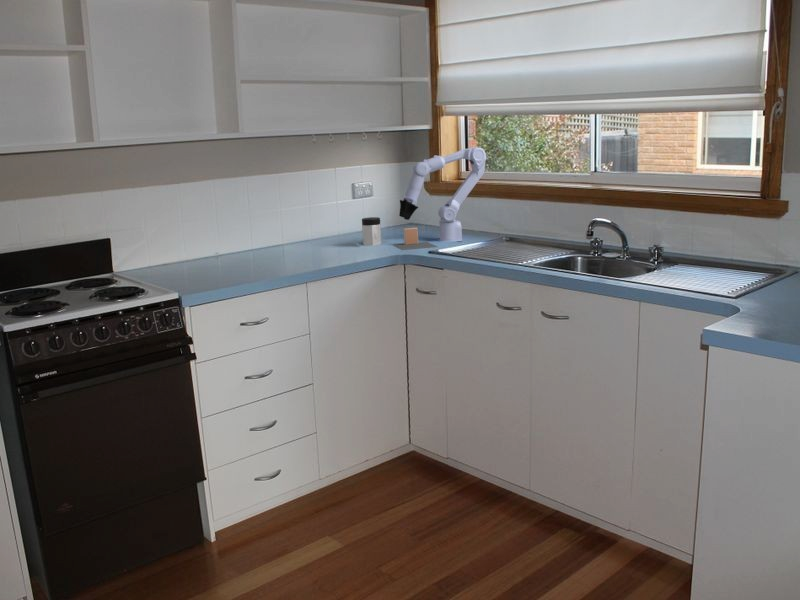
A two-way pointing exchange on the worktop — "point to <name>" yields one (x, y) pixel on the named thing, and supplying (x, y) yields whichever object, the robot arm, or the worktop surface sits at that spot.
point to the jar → (371, 231)
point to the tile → (410, 236)
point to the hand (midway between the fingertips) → (403, 218)
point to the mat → (415, 246)
